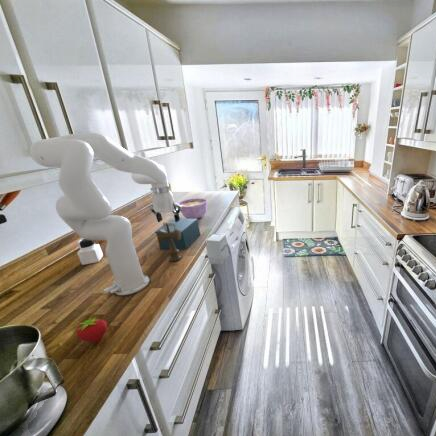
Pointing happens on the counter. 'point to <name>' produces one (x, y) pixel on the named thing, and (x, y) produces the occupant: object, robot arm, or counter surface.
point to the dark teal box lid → (177, 225)
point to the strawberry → (92, 330)
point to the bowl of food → (193, 208)
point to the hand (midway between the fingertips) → (168, 221)
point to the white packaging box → (217, 249)
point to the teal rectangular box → (183, 238)
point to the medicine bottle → (89, 251)
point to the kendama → (170, 241)
